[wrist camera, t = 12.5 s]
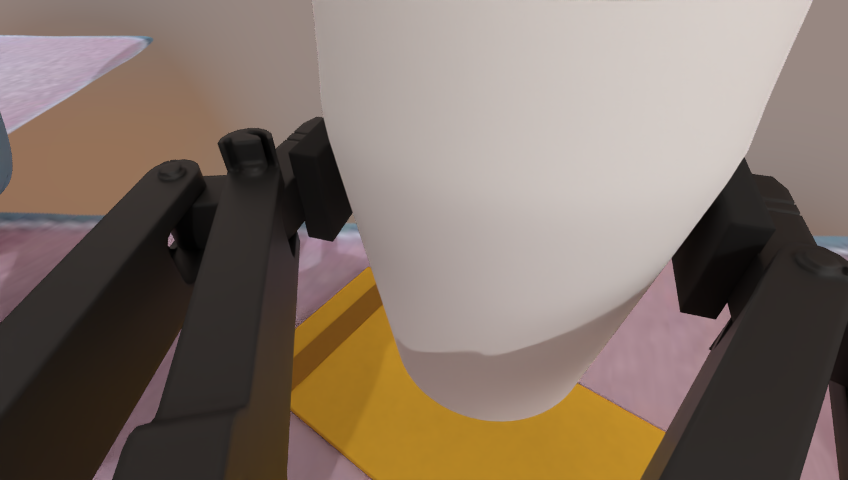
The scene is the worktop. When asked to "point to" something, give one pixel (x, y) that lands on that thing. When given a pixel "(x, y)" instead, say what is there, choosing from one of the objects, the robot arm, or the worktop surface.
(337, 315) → the towel
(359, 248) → the worktop surface
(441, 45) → the cup
